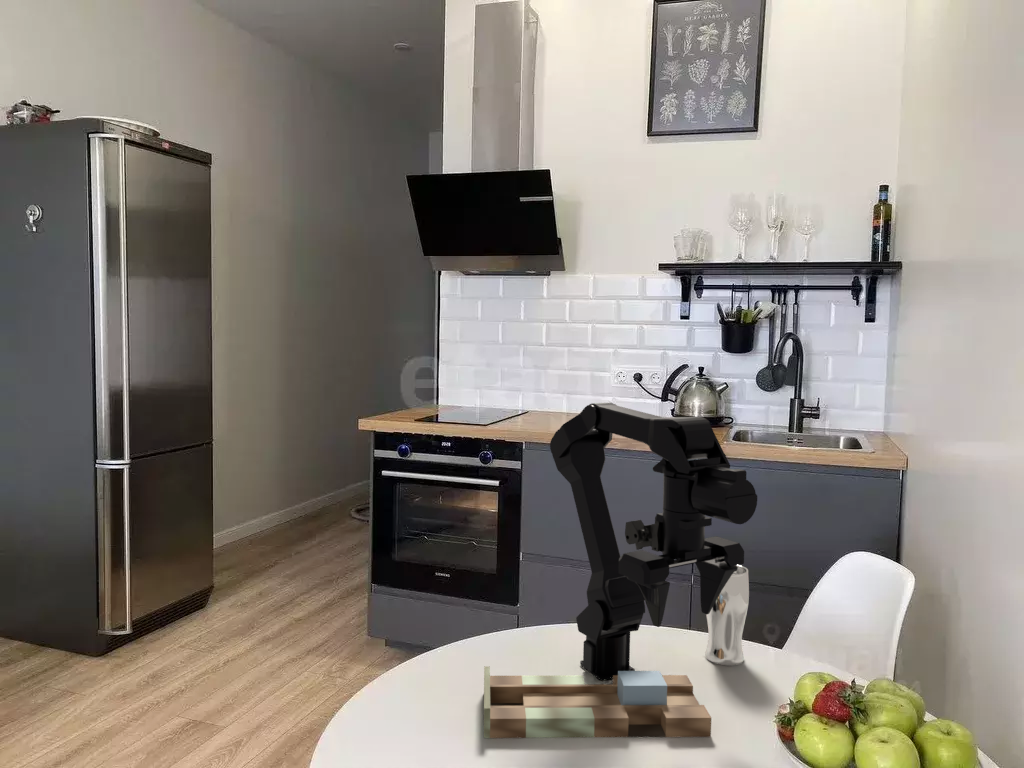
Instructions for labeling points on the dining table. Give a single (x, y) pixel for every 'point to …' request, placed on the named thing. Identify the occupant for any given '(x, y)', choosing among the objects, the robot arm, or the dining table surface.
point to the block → (641, 688)
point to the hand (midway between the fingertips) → (681, 619)
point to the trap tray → (586, 709)
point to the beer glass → (728, 621)
